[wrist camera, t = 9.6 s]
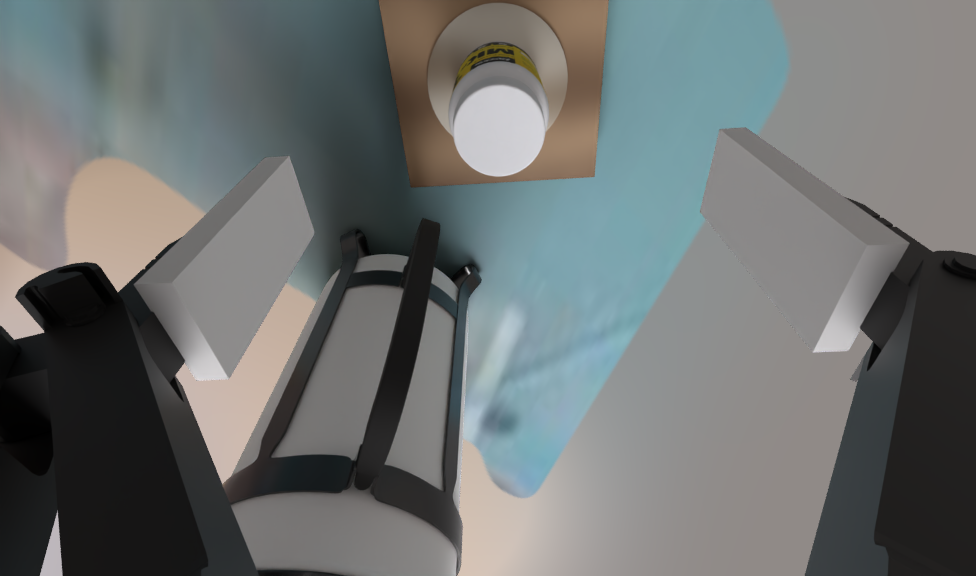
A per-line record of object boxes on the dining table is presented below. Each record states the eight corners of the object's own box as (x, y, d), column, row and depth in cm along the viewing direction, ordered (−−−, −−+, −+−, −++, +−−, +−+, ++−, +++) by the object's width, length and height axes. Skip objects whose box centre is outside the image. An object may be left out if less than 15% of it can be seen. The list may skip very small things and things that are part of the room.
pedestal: (383, -37, 25) (371, -36, 23) (600, -54, 25) (613, -54, 22) (416, 170, 33) (410, 188, 30) (586, 159, 32) (595, 178, 30)
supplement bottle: (513, 21, 24) (523, 47, 18) (552, 100, 27) (575, 151, 20) (438, 71, 26) (421, 114, 19) (482, 142, 28) (480, 203, 21)
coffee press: (520, 333, 42) (566, 858, 18) (365, 375, 45) (223, 866, 21) (446, 160, 32) (322, 792, 8) (255, 228, 35) (-247, 827, 11)
